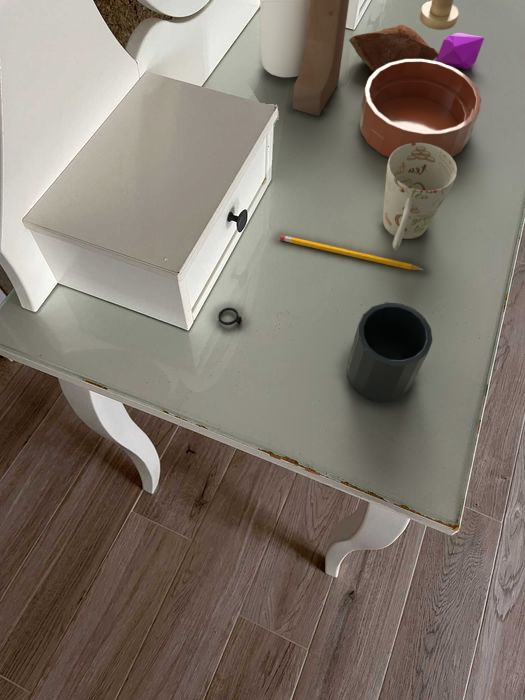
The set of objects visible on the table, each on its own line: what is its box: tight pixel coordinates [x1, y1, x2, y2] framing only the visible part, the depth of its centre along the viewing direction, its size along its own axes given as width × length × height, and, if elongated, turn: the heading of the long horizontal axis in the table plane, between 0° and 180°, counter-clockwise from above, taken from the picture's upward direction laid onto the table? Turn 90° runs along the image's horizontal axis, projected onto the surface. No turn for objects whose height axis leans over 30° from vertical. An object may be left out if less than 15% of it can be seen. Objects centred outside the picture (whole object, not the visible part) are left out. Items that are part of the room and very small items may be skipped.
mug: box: [382, 143, 458, 251], centre depth 74 cm, size 8×13×10 cm, turn 162°
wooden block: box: [292, 0, 350, 117], centre depth 84 cm, size 9×4×18 cm, turn 157°
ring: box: [217, 307, 243, 326], centre depth 71 cm, size 2×1×3 cm
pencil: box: [279, 234, 424, 271], centre depth 76 cm, size 1×19×1 cm, turn 74°
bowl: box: [358, 59, 482, 159], centre depth 86 cm, size 16×16×6 cm
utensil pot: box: [346, 301, 433, 403], centre depth 64 cm, size 8×8×9 cm
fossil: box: [348, 24, 439, 73], centre depth 92 cm, size 13×8×10 cm
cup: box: [259, 0, 310, 78], centre depth 89 cm, size 8×8×14 cm
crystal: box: [435, 32, 485, 70], centre depth 94 cm, size 5×5×5 cm
